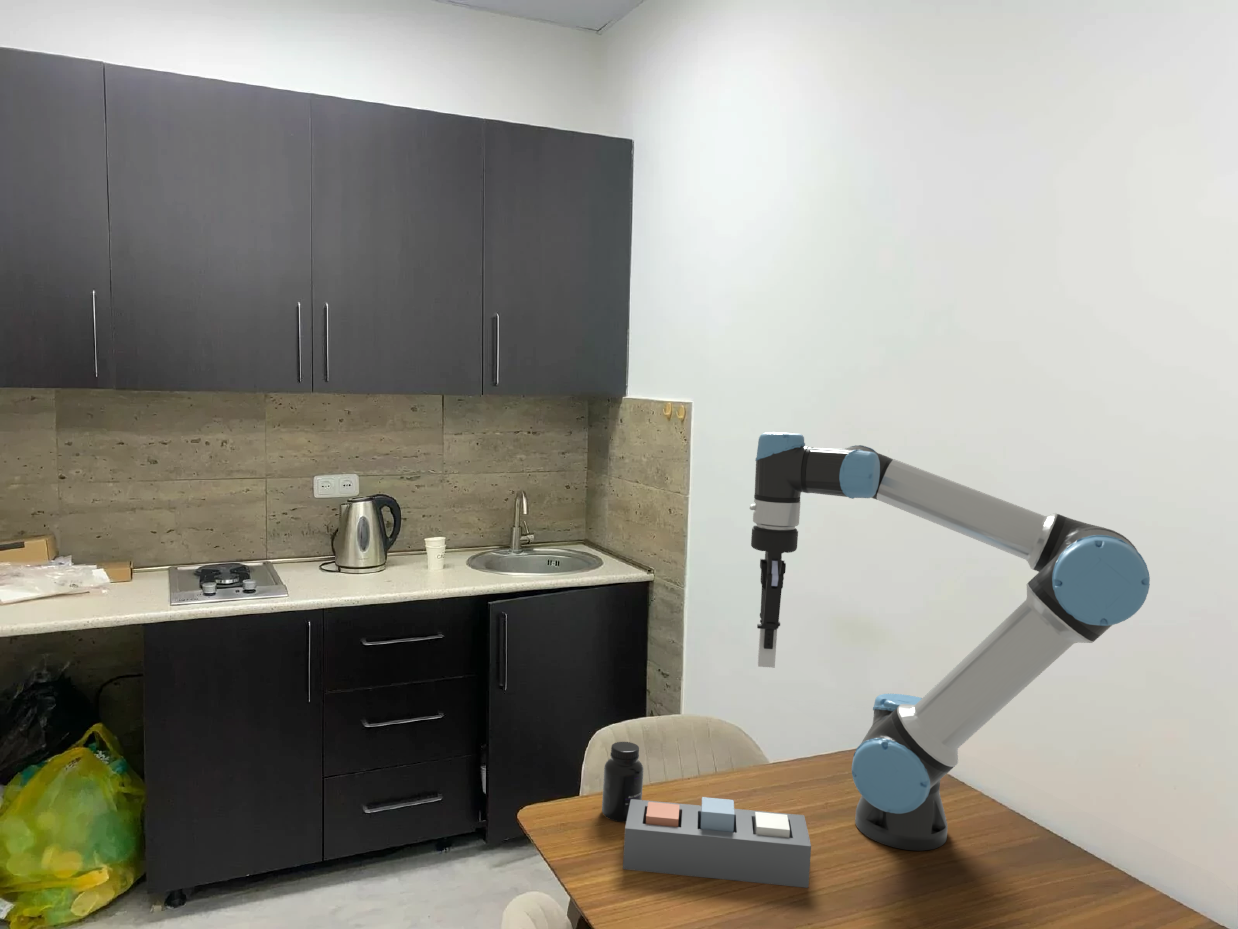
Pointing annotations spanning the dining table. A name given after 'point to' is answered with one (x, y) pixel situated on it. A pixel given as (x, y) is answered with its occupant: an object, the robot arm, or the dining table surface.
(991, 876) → the dining table surface
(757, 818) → the white key
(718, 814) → the blue key
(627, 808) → the supplement bottle
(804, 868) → the console
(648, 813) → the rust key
